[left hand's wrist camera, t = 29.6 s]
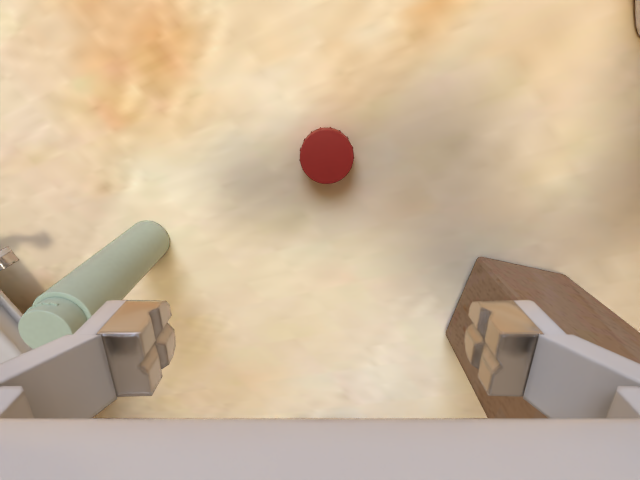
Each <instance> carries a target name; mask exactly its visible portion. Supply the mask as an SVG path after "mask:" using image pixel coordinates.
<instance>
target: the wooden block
mask: <svg viewBox="0 0 640 480" xmlns="http://www.w3.org/2000/svg"><path fill="white" fill-rule="evenodd" d="M508 300H531V301H534V302H535V303H536V304H537V305H538V306H539V307H540V308H541V309H542V310H543V311H544V312H545V313H546V314H547V315H548V316H549V317H550V318H551V319H552V320H553V321H554V322H555V323H556V324H557V325H558V326H559V327H560V328H561V329H562V330H563V331H564V332H565V333H566V334H567V335H575V336H578V337H580V338H582V339H584V340H587V341H589V342H591V343H593V344H596V345H598V346H600V347H603V348H605V349H607V350H609V351H612V352H614V353H616V354H619V355H621V356H623V357H625V358H628V359H630V360H632V361H635V362H637V363H639V364H640V333H639V332H638V331H637V330H636V329H634V328H633V327H632V326H630V325H629V324H628V323H626V322H625V321H624V320H623V319H621V318H620V317H619V316H617V315H616V314H615V313H614V312H612V311H611V310H610V309H608V308H607V307H606V306H604V305H603V304H602V303H601V302H599V301H598V300H597V299H595V298H594V297H593V296H591V295H590V294H589V293H588V292H586V291H585V290H584V289H582V288H581V287H580V286H579V285H577V284H576V283H575V282H573V281H572V280H571V279H569V278H568V277H567V276H566V275H563V274H558V273H553V272H549V271H544V270H540V269H535V268H530V267H526V266H521V265H517V264H512V263H507V262H503V261H498V260H494V259H489V258H484V257H478V259H477V260H476V262H475V265H474V267H473V269H472V272H471V274H470V276H469V279H468V281H467V284H466V286H465V288H464V291H463V293H462V295H461V298H460V300H459V302H458V305H457V307H456V310H455V312H454V314H453V317H452V319H451V321H450V324H449V326H448V329H447V331H446V336H447V338H448V340H449V342H450V344H451V346H452V348H453V350H454V352H455V354H456V356H457V358H458V360H459V362H460V364H461V366H462V368H463V370H464V372H465V374H466V376H467V378H468V380H469V381H470V383H471V385H472V387H473V389H474V391H475V393H476V395H477V397H478V399H479V401H480V403H481V405H482V407H483V409H484V411H485V413H486V415H487V417H488V418H548V417H546V416H545V415H544V414H542V413H541V412H540V411H539V410H537V409H536V408H535V407H533V406H532V405H531V404H530V403H528V402H527V401H526V400H524V399H523V397H515V396H488V394H487V393H486V391H485V389H484V387H483V385H482V384H481V382H480V380H479V378H478V372H479V369H477V368H476V367H474V366H473V365H471V363H470V361H469V360H468V358H467V354H466V351H465V341H464V340H465V332H466V329H467V328H468V327H469V326H470V325H471V324H472V323H473V322H472V320H471V319H470V317H469V316H468V314H469V308H470V305H471V303H472V302H474V301H508Z"/></svg>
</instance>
